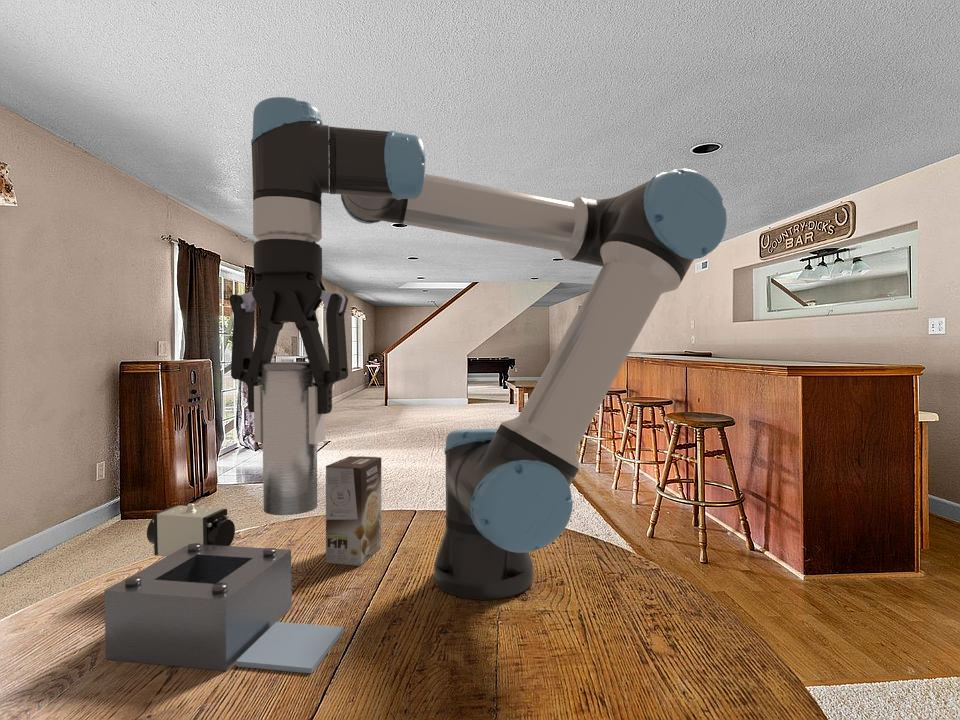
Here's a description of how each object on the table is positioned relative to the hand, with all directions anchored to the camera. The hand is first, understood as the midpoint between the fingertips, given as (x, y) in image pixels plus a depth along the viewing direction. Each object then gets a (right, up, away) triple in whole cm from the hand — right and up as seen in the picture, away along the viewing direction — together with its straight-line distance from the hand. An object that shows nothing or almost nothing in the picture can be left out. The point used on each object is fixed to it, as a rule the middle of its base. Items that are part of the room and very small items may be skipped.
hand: (290, 440), depth 66 cm
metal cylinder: (0, -8, 0) cm, 8 cm away
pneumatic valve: (-21, -24, +19) cm, 37 cm away
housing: (-12, -25, +5) cm, 28 cm away
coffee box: (+1, -24, +30) cm, 38 cm away
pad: (0, -25, +1) cm, 25 cm away
